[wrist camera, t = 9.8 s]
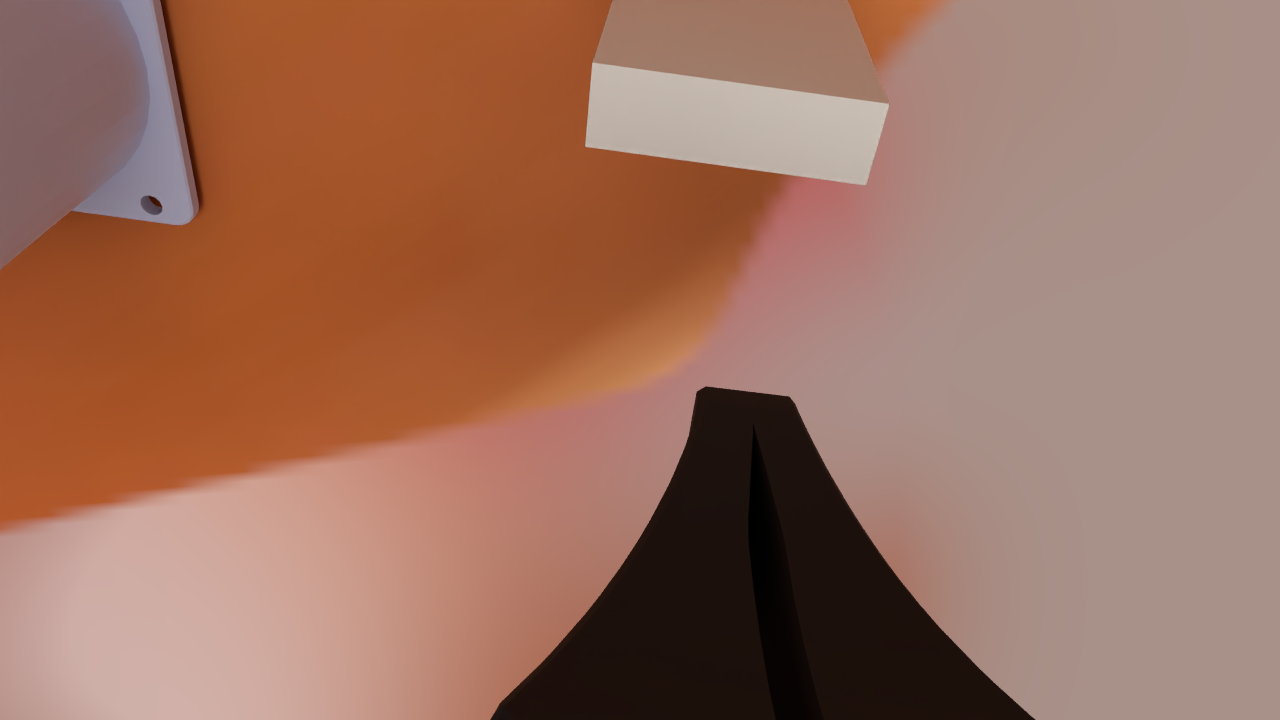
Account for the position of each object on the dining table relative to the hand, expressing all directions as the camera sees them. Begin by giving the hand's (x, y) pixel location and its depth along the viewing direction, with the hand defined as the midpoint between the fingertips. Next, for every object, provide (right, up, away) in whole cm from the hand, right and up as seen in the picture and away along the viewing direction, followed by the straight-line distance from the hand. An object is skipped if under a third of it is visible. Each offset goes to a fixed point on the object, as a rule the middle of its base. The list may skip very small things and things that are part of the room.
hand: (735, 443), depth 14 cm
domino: (0, +9, +6) cm, 11 cm away
